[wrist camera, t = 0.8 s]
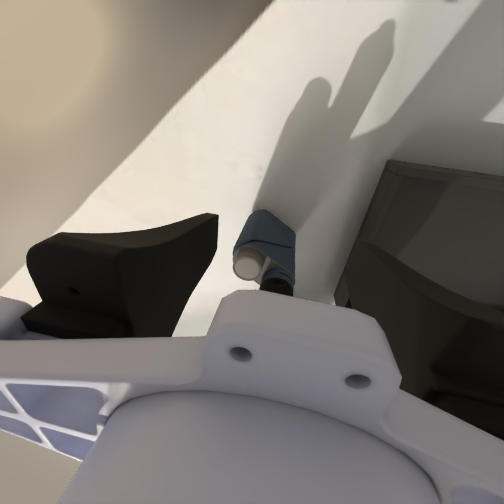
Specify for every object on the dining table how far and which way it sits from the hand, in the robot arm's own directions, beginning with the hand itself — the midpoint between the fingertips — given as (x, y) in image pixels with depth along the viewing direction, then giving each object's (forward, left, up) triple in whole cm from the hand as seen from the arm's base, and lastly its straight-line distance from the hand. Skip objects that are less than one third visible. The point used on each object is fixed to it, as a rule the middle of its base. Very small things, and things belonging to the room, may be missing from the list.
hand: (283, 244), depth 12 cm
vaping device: (-4, +1, -10) cm, 11 cm away
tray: (-4, -15, -10) cm, 19 cm away
